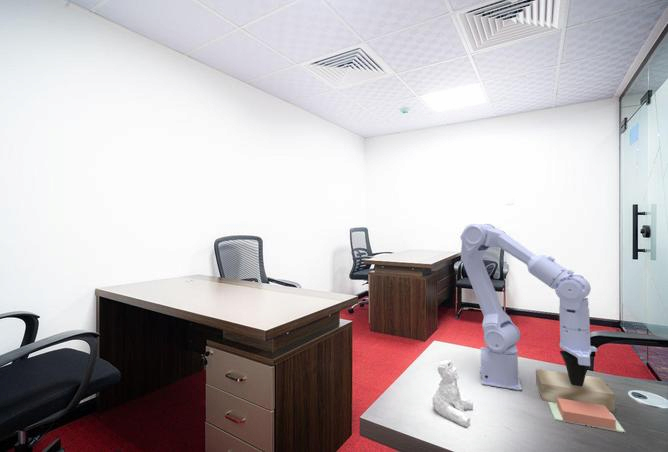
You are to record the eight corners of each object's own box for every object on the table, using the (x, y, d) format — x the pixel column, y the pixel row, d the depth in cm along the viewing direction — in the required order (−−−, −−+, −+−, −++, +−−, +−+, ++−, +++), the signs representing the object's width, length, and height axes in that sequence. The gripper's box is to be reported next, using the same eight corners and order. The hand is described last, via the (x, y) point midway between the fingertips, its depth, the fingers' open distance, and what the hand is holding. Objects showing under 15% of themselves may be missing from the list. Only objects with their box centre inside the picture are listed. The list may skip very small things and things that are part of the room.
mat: (554, 419, 71) (554, 418, 71) (548, 403, 78) (548, 401, 78) (624, 432, 66) (624, 431, 66) (610, 413, 73) (610, 412, 73)
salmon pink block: (556, 397, 76) (557, 406, 75) (563, 411, 70) (563, 420, 70) (604, 405, 72) (605, 414, 72) (615, 420, 66) (615, 429, 66)
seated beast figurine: (469, 429, 68) (468, 372, 68) (428, 419, 72) (426, 365, 72) (473, 407, 76) (472, 356, 77) (436, 399, 80) (434, 351, 81)
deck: (542, 400, 79) (541, 383, 79) (536, 384, 87) (535, 369, 87) (614, 412, 73) (614, 394, 73) (600, 393, 81) (600, 377, 81)
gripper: (606, 338, 68) (609, 403, 68) (585, 320, 82) (587, 374, 81) (566, 334, 71) (568, 396, 71) (552, 318, 84) (554, 370, 84)
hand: (576, 384), depth 76 cm, fingers closed
